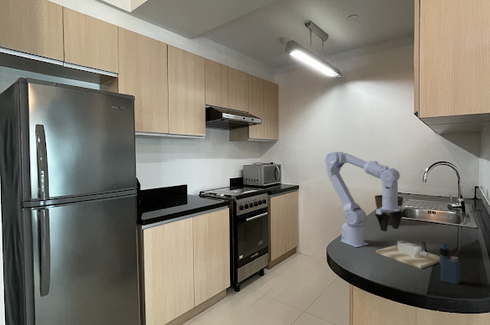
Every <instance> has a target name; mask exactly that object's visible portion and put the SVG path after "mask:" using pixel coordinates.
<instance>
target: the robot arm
mask: <svg viewBox="0 0 490 325" xmlns="http://www.w3.org/2000/svg"><path fill="white" fill-rule="evenodd" d="M324 162H325V165H326V166H325V167H326V175H327V177H328V179H329V181H330V182H331V184H332V187H333V188H334V190H335V192H336V194H337V196H338V198H339V200H340V201H341V204H342V206H343V208H342V212H343V214H344V220H345V222H344V223H343V224H342V226H341V239H340V243H344V244H346V245H349V246H352V247H354V248H358V247H363V246H367V245H369V243H368V242H365V221H366V219H367V213H366V211H365V210H364V209H362V208H361V206H360V205H359V204H358V203H357V202H355V200H354V198H353V195H352V194H351V192H350V191H349V188H348V186H347V184H346V183H345V180H344V179H343V177H342V175H341V173H340V172H341V169H342V168H343V166H344V165H345V164H350V165H352V166H355V167H357V168H360V169H363V170H364V173H366V174H368V175H371V176H372V177H373V178H374V177H375V178H376V179H380V180H381V182H382V189H381V191H382V193H381V195H382V207H381V208H379V209H377V208H376V212H375V214H374V216H375V217H376V219H377V221H378V224H379V227H380V230H381V231H382V232H387V231H388V226H389V225H388V220H389V218H390V216H389V215H386V213H390V215H391V219H392V225H391V226H392V229H395V230H398V229H399V228H400V224H401V220H402V219H403V217H404V215H405V212H403V211H404V210H403V209H404V207H403V206H402V207H401V206H398V196H399V194H398V193H399V191H398V190H399V186H398V185H399V184H398V183H399V182H398V181H399V179H400V177H401V174H400V172H399V171H398V170H397V169H396V168H393V167H392V168H391V167H389V166H388V165H383V164H379V162H378V161H377V160H374V161H372V160H371V161H370V160H369V162H368V161H365V160H363V159H360V158H358V157H356V156H354V155H352V154H350V153H346V152H344V151H329V152H328V153H327V154H326V156H325V158H324Z"/></svg>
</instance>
